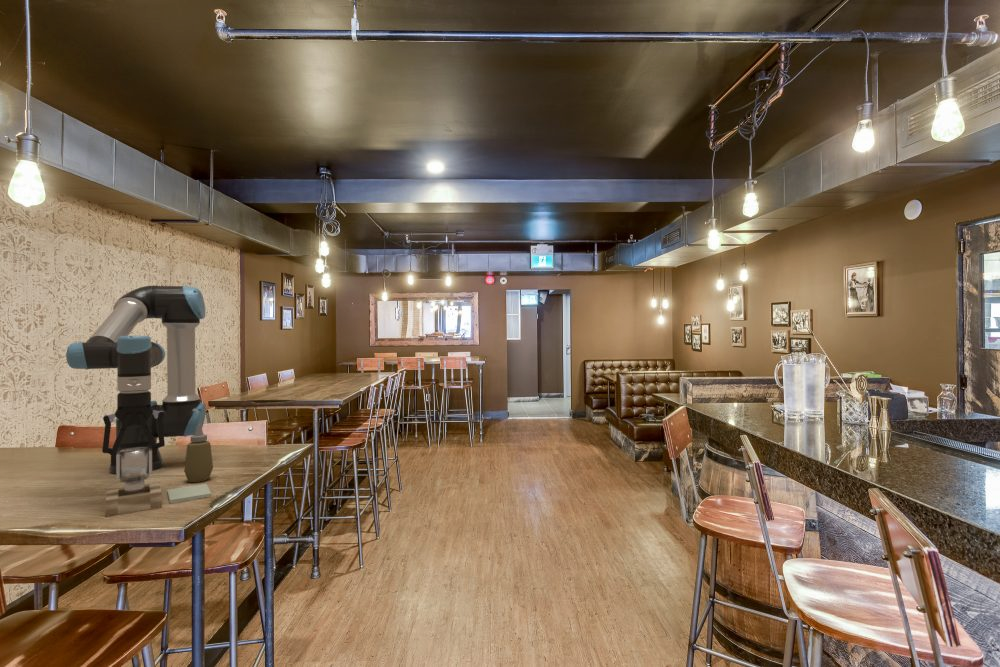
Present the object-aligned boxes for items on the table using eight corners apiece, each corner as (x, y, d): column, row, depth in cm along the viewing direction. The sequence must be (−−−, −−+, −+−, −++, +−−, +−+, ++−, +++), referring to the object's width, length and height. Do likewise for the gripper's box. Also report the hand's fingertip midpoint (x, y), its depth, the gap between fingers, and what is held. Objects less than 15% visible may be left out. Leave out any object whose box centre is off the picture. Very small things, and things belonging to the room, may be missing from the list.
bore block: (107, 504, 139) (107, 489, 139) (159, 496, 146) (159, 482, 146) (105, 516, 129) (105, 501, 129) (161, 507, 136) (161, 492, 136)
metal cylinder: (119, 496, 139) (119, 449, 139) (148, 491, 142) (148, 446, 143) (119, 502, 133) (119, 453, 133) (149, 497, 137) (149, 450, 137)
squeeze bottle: (178, 481, 161) (178, 425, 161) (203, 475, 168) (203, 421, 168) (193, 485, 157) (193, 427, 157) (218, 478, 164) (218, 423, 164)
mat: (167, 493, 149) (167, 489, 149) (206, 486, 155) (206, 483, 155) (169, 503, 139) (169, 500, 139) (211, 496, 145) (211, 493, 145)
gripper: (87, 395, 129) (87, 484, 129) (177, 390, 141) (177, 472, 141) (89, 392, 135) (89, 478, 135) (175, 388, 147) (175, 466, 147)
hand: (134, 475), depth 138 cm, fingers closed on metal cylinder, 6 cm apart
